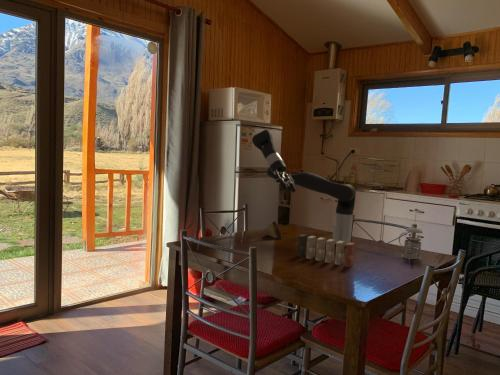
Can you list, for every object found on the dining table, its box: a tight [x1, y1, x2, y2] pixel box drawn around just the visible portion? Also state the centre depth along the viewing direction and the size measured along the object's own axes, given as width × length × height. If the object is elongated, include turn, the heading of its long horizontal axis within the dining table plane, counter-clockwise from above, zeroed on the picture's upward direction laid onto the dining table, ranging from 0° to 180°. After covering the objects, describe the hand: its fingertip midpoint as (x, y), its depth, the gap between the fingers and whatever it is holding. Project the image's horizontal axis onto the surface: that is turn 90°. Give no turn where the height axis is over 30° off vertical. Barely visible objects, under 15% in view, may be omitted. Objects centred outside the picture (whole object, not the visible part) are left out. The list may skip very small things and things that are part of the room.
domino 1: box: [296, 233, 308, 258], centre depth 190 cm, size 2×5×10 cm, turn 151°
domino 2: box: [305, 235, 317, 260], centre depth 188 cm, size 2×5×10 cm, turn 150°
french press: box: [398, 208, 423, 260], centre depth 201 cm, size 10×12×25 cm
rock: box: [266, 220, 284, 240], centre depth 228 cm, size 11×9×10 cm
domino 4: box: [324, 238, 336, 264], centre depth 184 cm, size 2×5×10 cm, turn 150°
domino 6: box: [344, 241, 356, 268], centre depth 179 cm, size 2×5×10 cm, turn 150°
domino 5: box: [334, 241, 346, 266], centre depth 181 cm, size 2×5×10 cm, turn 150°
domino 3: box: [314, 236, 327, 262], centre depth 186 cm, size 2×5×10 cm, turn 150°
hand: (290, 190), depth 194 cm, fingers open, 8 cm apart
